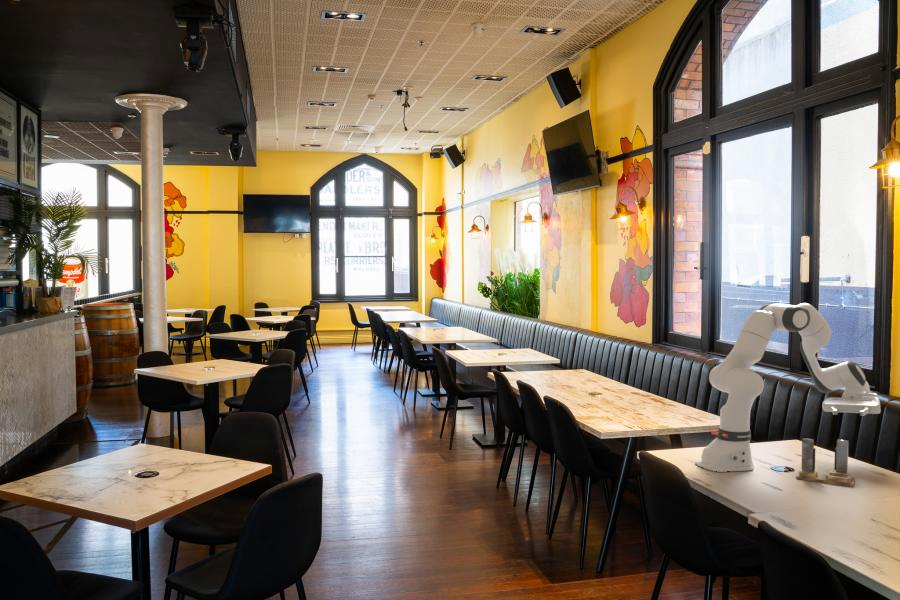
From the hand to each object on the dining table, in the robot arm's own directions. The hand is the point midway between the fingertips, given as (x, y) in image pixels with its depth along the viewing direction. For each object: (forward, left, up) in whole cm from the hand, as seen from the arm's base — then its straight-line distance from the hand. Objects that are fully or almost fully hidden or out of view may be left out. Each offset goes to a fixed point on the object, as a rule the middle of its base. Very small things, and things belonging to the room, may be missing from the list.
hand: (848, 413), depth 275 cm
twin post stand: (-22, -8, -21) cm, 32 cm away
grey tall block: (-11, -6, -21) cm, 25 cm away
